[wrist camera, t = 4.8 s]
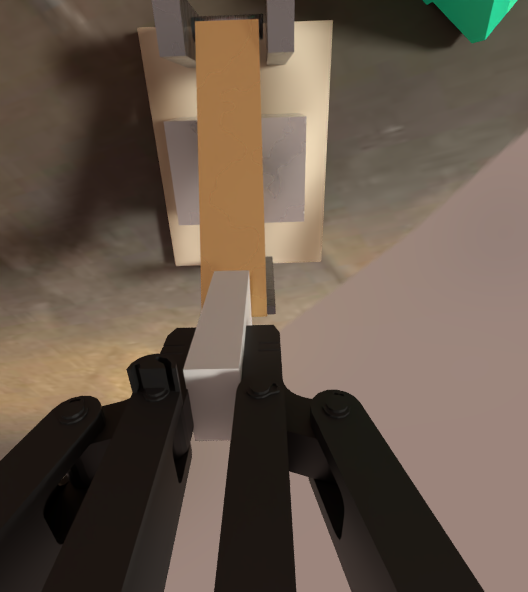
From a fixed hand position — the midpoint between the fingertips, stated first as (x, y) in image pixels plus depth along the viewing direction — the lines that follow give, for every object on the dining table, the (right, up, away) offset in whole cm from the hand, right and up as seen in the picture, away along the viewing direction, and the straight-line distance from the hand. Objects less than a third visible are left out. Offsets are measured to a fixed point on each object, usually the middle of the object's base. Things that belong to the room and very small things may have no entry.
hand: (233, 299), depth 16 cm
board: (0, +10, +11) cm, 15 cm away
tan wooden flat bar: (0, +6, +2) cm, 7 cm away
